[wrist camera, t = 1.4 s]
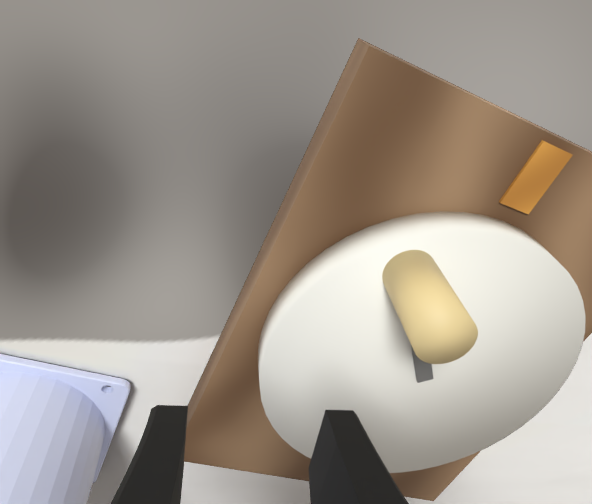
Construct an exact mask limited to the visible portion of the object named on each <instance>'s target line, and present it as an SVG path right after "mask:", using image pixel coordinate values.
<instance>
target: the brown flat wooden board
mask: <svg viewBox="0 0 592 504" xmlns="http://www.w3.org/2000/svg"><path fill="white" fill-rule="evenodd" d="M439 211H442V212H466V213H473V214H479V215H485V216H488V217H492V218H495V219H498V220H502V221H505V222H507V223H509V224H511V225H513V226H515V227H517V228H519V229H521V230H523V231H524V232H525V233H527V234H528V235H530V236H531V237H533V238H534V239H535V240H536V241H537V242H539V243H540V244H541V245H542V246H543V247H544V248H545V249H546V250H547V251H548V252H549V253H550V254H551V255H552V256H553V257H554V258H555V259H556V260H557V261H558V262H559V263H560V264H561V265H562V266H563V267H564V268H565V269H566V270H567V271H568V272H569V274H570V275H571V277H572V278H573V280H574V281H575V283H576V285H577V286H578V289H579V291H580V294H581V297H582V299H583V304H584V310H585V334H584V339H583V341H584V340H585V339H586V338H587V337H588V336H589V335H590V334H591V333H592V152H591V151H589V150H587V149H585V148H583V147H581V146H579V145H577V144H575V143H573V142H571V141H569V140H567V139H565V138H563V137H561V136H559V135H556V134H554V133H552V132H550V131H548V130H546V129H544V128H542V127H540V126H538V125H536V124H534V123H532V122H530V121H527V120H526V119H523V118H522V117H519V116H517V115H515V114H513V113H511V112H509V111H507V110H505V109H503V108H501V107H499V106H497V105H495V104H493V103H491V102H489V101H486V100H485V99H483V98H480V97H478V96H476V95H474V94H472V93H470V92H468V91H466V90H464V89H462V88H460V87H458V86H456V85H454V84H452V83H450V82H448V81H445V80H443V79H441V78H439V77H437V76H435V75H433V74H431V73H429V72H427V71H425V70H423V69H421V68H419V67H417V66H415V65H413V64H410V63H409V62H406V61H405V60H402V59H400V58H398V57H396V56H394V55H392V54H390V53H388V52H386V51H384V50H382V49H380V48H378V47H376V46H374V45H372V44H370V43H368V42H366V41H363V40H361V39H358V40H357V43H356V45H355V47H354V49H353V51H352V53H351V55H350V57H349V60H348V62H347V64H346V66H345V69H344V70H343V73H342V75H341V77H340V79H339V81H338V83H337V85H336V88H335V90H334V92H333V94H332V96H331V98H330V101H329V103H328V105H327V107H326V109H325V112H324V114H323V116H322V118H321V120H320V122H319V124H318V126H317V129H316V131H315V133H314V135H313V137H312V139H311V141H310V144H309V146H308V148H307V150H306V152H305V154H304V157H303V159H302V161H301V163H300V165H299V167H298V170H297V172H296V174H295V176H294V178H293V180H292V183H291V184H290V187H289V189H288V191H287V193H286V195H285V197H284V200H283V202H282V204H281V206H280V208H279V210H278V213H277V215H276V217H275V219H274V221H273V223H272V225H271V228H270V230H269V232H268V234H267V236H266V238H265V240H264V243H263V245H262V247H261V249H260V251H259V253H258V256H257V258H256V260H255V262H254V264H253V266H252V269H251V271H250V273H249V275H248V277H247V279H246V281H245V284H244V286H243V288H242V290H241V292H240V294H239V296H238V299H237V301H236V303H235V305H234V307H233V310H232V311H231V314H230V316H229V318H228V320H227V322H226V324H225V327H224V329H223V331H222V333H221V335H220V337H219V339H218V342H217V344H216V346H215V348H214V350H213V352H212V355H211V357H210V359H209V361H208V363H207V365H206V367H205V370H204V372H203V374H202V376H201V378H200V380H199V383H198V385H197V387H196V389H195V391H194V393H193V395H192V398H191V400H190V402H189V404H188V413H187V427H186V441H185V454H184V461H185V462H191V463H198V464H204V465H210V466H217V467H223V468H229V469H235V470H242V471H248V472H254V473H260V474H267V475H273V476H279V477H286V478H292V479H298V480H304V481H309V464H310V461H311V458H309V457H306V456H305V455H303V454H302V453H300V452H298V451H297V450H295V449H294V448H292V447H291V446H290V445H289V444H288V443H287V442H286V441H284V440H283V439H282V438H281V437H280V435H279V434H278V433H277V432H276V430H275V429H274V428H273V426H272V425H271V423H270V421H269V419H268V417H267V416H266V413H265V410H264V407H263V404H262V401H261V393H260V385H259V370H258V347H259V341H260V336H261V332H262V328H263V325H264V323H265V320H266V318H267V315H268V313H269V311H270V309H271V307H272V306H273V304H274V302H275V301H276V299H277V297H278V296H279V294H280V293H281V292H282V290H283V289H284V288H285V287H286V285H287V284H288V283H289V282H290V280H291V279H292V278H293V277H294V276H295V275H296V274H297V273H298V272H299V271H300V270H301V269H302V268H303V267H304V266H305V265H306V264H307V263H309V262H310V261H311V260H313V259H314V258H315V257H316V256H318V255H319V254H320V253H322V252H323V251H324V250H326V249H327V248H329V247H331V246H332V245H334V244H336V243H337V242H339V241H340V240H342V239H344V238H345V237H347V236H350V235H352V234H354V233H356V232H358V231H360V230H363V229H365V228H367V227H369V226H372V225H375V224H378V223H381V222H384V221H387V220H390V219H394V218H399V217H403V216H408V215H413V214H419V213H429V212H439ZM479 452H480V451H479ZM479 452H476V453H474V454H472V455H469V456H467V457H464V458H461V459H459V460H456V461H453V462H450V463H446V464H443V465H439V466H436V467H431V468H426V469H422V470H416V471H408V472H400V473H390V475H391V477H392V478H393V480H394V481H395V483H396V485H397V486H398V488H399V490H400V491H401V493H402V494H403V496H405V497H411V498H417V499H424V500H430V501H434V500H435V499H436V498H437V497H438V496H439V495H440V494H441V493H442V491H443V490H444V489H445V488H446V487H447V486H448V485H449V484H450V483H451V482H452V481H453V480H454V479H455V478H456V477H457V475H458V474H459V473H460V472H461V471H462V470H463V469H464V468H465V467H466V466H467V465H468V464H469V463H470V462H471V461H472V460H473V458H474V457H475V456H476V455H477V454H478V453H479Z"/></svg>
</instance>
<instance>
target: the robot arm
mask: <svg viewBox="0 0 592 504" xmlns="http://www.w3.org/2000/svg"><path fill="white" fill-rule="evenodd" d="M107 386H111V387H107ZM130 388H131V385H130V383H129V382H128V381H127V380H125V379H121V378H116V377H112V376H107V375H102V374H97V373H92V372H87V371H82V370H77V369H72V368H68V367H63V366H58V365H53V364H48V363H43V362H38V361H33V360H28V359H23V358H19V357H14V356H9V355H4V354H0V504H87V502H88V498H89V494H90V490H91V486H92V483H94V482H96V480H97V478H98V475H99V473H100V470H101V467H102V465H103V462H104V459H105V457H106V454H107V451H108V449H109V446H110V443H111V441H112V438H113V435H114V433H115V430H116V427H117V425H118V422H119V419H120V417H121V414H122V411H123V409H124V406H125V403H126V401H127V398H128V395H129V392H130ZM187 413H188V406H165V405H157V406H155V407H154V408H152V409H151V412H150V416H149V419H148V422H147V425H146V428H145V431H144V433H143V436H142V438H141V441H140V443H139V446H138V448H137V451H136V453H135V455H134V457H133V459H132V462H131V464H130V466H129V468H128V471H127V473H126V475H125V477H124V479H123V481H122V483H121V485H120V487H119V489H118V491H117V493H116V495H115V497H114V499H113V501H112V502H111V504H180V500H181V489H182V479H183V468H184V454H185V441H186V427H187ZM309 484H310V498H311V504H408V502H407V501H406V499H405V497H404V496H403V494H402V493H401V491H400V490H399V488H398V486H397V485H396V483H395V481H394V480H393V478H392V477H391V475H390V473H389V472H388V470H387V468H386V466H385V465H384V463H383V461H382V460H381V458H380V456H379V454H378V453H377V451H376V449H375V447H374V446H373V444H372V442H371V440H370V438H369V437H368V435H367V433H366V431H365V429H364V427H363V426H362V424H361V422H360V420H359V418H358V416H357V414H356V413H355V412H354V411H353V410H325V413H324V417H323V420H322V424H321V427H320V430H319V434H318V437H317V441H316V444H315V447H314V451H313V454H312V458H311V461H310V464H309Z"/></svg>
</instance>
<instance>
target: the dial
mask: <svg viewBox="0 0 592 504" xmlns="http://www.w3.org/2000/svg"><path fill="white" fill-rule="evenodd" d="M584 334H585V310H584V304H583V299H582V297H581V294H580V291H579V289H578V286H577V285H576V283H575V281H574V280H573V278H572V277H571V275H570V274H569V272H568V271H567V270H566V269H565V268H564V267H563V266H562V265H561V264H560V263H559V262H558V261H557V260H556V259H555V258H554V257H553V256H552V255H551V254H550V253H549V252H548V251H547V250H546V249H545V248H544V247H543V246H542V245H541V244H540V243H539V242H537V241H536V240H535V239H534V238H533V237H531V236H530V235H528V234H527V233H525V232H524V231H523V230H521V229H519V228H517V227H515V226H513V225H511V224H509V223H507V222H505V221H502V220H498V219H495V218H492V217H488V216H485V215H479V214H473V213H466V212H442V211H439V212H429V213H419V214H413V215H408V216H403V217H399V218H394V219H390V220H387V221H384V222H381V223H378V224H375V225H372V226H369V227H367V228H365V229H363V230H360V231H358V232H356V233H354V234H352V235H350V236H347V237H345V238H344V239H342V240H340V241H339V242H337V243H336V244H334V245H332V246H331V247H329V248H327V249H326V250H324V251H323V252H322V253H320V254H319V255H318V256H316V257H315V258H314V259H313V260H311V261H310V262H309V263H307V264H306V265H305V266H304V267H303V268H302V269H301V270H300V271H299V272H298V273H297V274H296V275H295V276H294V277H293V278H292V279H291V280H290V282H289V283H288V284H287V285H286V287H285V288H284V289H283V290H282V292H281V293H280V294H279V296H278V297H277V299H276V301H275V302H274V304H273V306H272V307H271V309H270V311H269V313H268V315H267V318H266V320H265V323H264V325H263V328H262V332H261V336H260V341H259V347H258V370H259V385H260V393H261V401H262V404H263V407H264V410H265V413H266V416H267V417H268V419H269V421H270V423H271V425H272V426H273V428H274V429H275V430H276V432H277V433H278V434H279V435H280V437H281V438H282V439H283V440H284V441H286V442H287V443H288V444H289V445H290V446H291V447H292V448H294V449H295V450H297V451H298V452H300V453H302V454H303V455H305V456H306V457H309V458H312V454H313V451H314V447H315V444H316V441H317V437H318V434H319V430H320V427H321V424H322V420H323V417H324V413H325V410H353V411H354V412H355V413H356V414H357V416H358V418H359V420H360V422H361V424H362V426H363V427H364V429H365V431H366V433H367V435H368V437H369V438H370V440H371V442H372V444H373V446H374V447H375V449H376V451H377V453H378V454H379V456H380V458H381V460H382V461H383V463H384V465H385V466H386V468H387V470H388V472H389V473H400V472H408V471H416V470H422V469H426V468H431V467H436V466H439V465H443V464H446V463H450V462H453V461H456V460H459V459H461V458H464V457H467V456H469V455H472V454H474V453H476V452H479V451H481V450H483V449H485V448H487V447H489V446H491V445H493V444H495V443H496V442H498V441H500V440H502V439H504V438H505V437H507V436H508V435H510V434H511V433H513V432H514V431H516V430H517V429H519V428H520V427H522V426H523V425H524V424H525V423H527V422H528V421H529V420H530V419H532V418H533V417H534V416H535V415H536V414H537V413H538V412H539V411H541V410H542V409H543V408H544V407H545V406H546V405H547V404H548V403H549V402H550V400H551V399H552V398H553V397H554V396H555V395H556V393H557V392H558V391H559V390H560V388H561V387H562V385H563V384H564V383H565V381H566V380H567V378H568V377H569V375H570V373H571V371H572V369H573V367H574V366H575V364H576V362H577V359H578V356H579V354H580V351H581V348H582V344H583V339H584Z"/></svg>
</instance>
